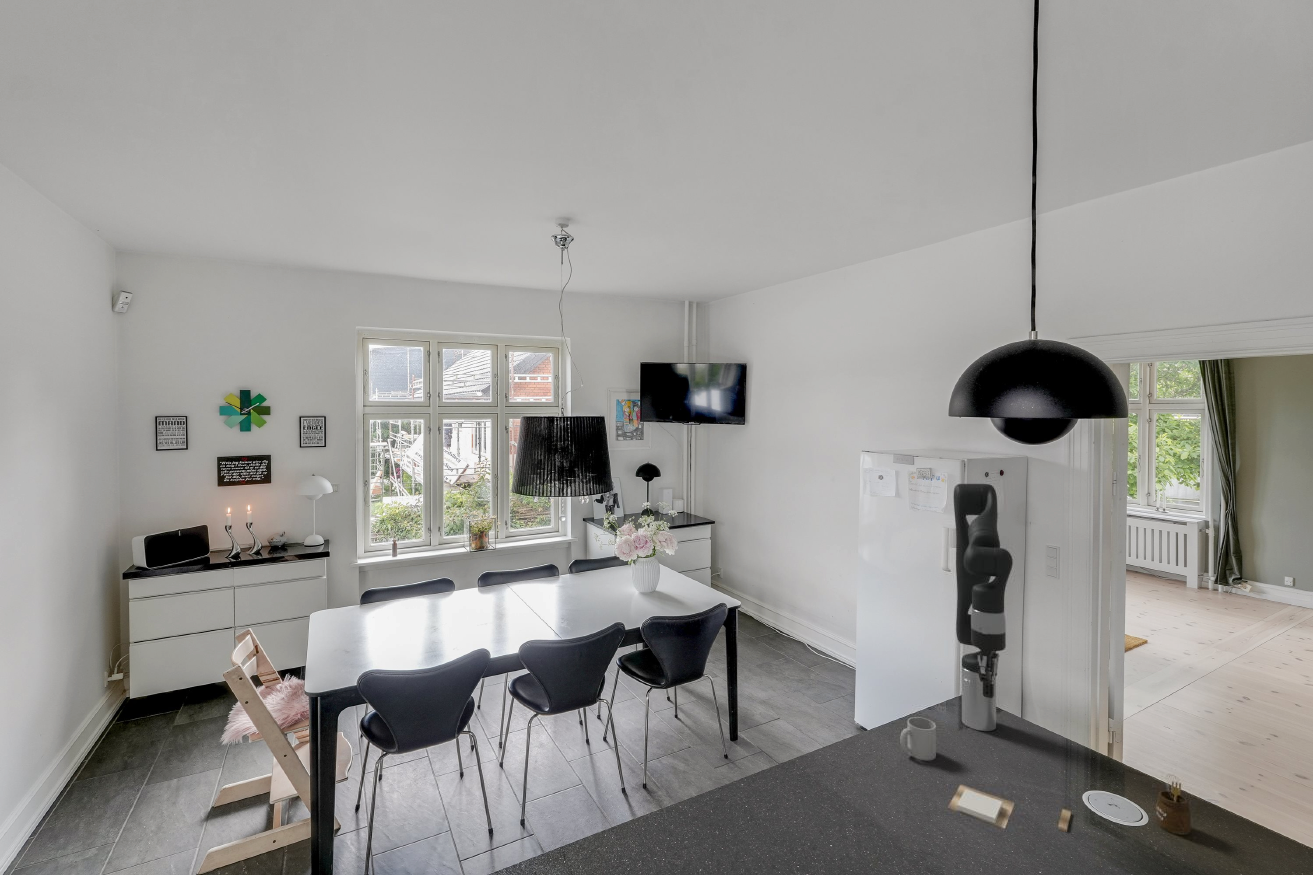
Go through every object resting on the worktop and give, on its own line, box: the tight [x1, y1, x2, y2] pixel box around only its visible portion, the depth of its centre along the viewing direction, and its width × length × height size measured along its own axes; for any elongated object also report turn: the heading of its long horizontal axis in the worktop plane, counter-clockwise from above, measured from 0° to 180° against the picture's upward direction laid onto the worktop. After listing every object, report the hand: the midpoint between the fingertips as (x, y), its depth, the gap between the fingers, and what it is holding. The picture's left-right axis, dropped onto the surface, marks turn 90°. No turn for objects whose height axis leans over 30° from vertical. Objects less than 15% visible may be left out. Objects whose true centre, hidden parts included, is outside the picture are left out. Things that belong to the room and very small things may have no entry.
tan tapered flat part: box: [1057, 808, 1072, 833], centre depth 136 cm, size 13×4×1 cm, turn 140°
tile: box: [957, 789, 1002, 823], centre depth 143 cm, size 1×8×8 cm
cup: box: [899, 716, 937, 761], centre depth 167 cm, size 7×10×9 cm
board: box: [947, 784, 1016, 829], centre depth 144 cm, size 12×12×1 cm
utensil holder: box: [1155, 773, 1192, 836], centre depth 136 cm, size 6×6×12 cm
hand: (988, 696), depth 150 cm, fingers closed
